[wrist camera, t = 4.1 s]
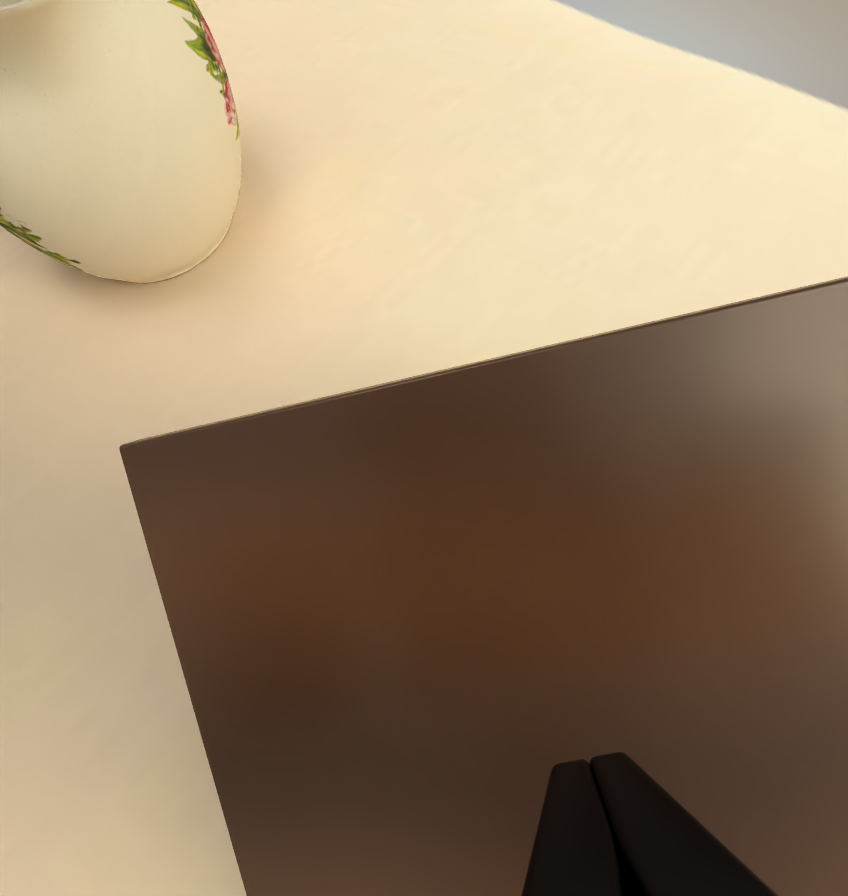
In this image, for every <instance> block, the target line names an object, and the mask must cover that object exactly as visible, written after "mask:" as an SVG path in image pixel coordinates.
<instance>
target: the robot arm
mask: <svg viewBox="0 0 848 896" xmlns="http://www.w3.org/2000/svg"><path fill="white" fill-rule="evenodd" d="M521 896H779V895H778V894H777V893H776V892H775V891H774V890H773V889H771V888H770V887H769V886H768V885H767V884H766V883H765V882H764V881H763V880H762V879H761V878H760V877H759V876H757V875H756V874H755V873H754V872H753V871H752V870H751V869H750V868H749V867H748V866H747V865H746V864H745V863H743V862H742V861H741V860H740V859H739V858H738V857H737V856H736V855H735V854H734V853H733V852H732V851H731V850H729V849H728V848H727V847H726V846H725V845H724V844H723V843H722V842H721V841H720V840H719V839H718V838H717V837H715V836H714V835H713V834H712V833H711V832H710V831H709V830H708V829H707V828H706V827H705V826H704V825H703V824H701V823H700V822H699V821H698V820H697V819H696V818H695V817H694V816H693V815H692V814H691V813H690V812H689V811H687V810H686V809H685V808H684V807H683V806H682V805H681V804H680V803H679V802H678V801H677V800H676V799H675V798H673V797H672V796H671V795H670V794H669V793H668V792H667V791H666V790H665V789H664V788H663V787H662V786H661V785H659V784H658V783H657V782H656V781H655V780H654V779H653V778H652V777H651V776H650V775H649V774H648V773H647V772H645V771H644V770H643V769H642V768H641V767H640V766H639V765H638V764H637V763H636V762H635V761H634V760H632V759H631V758H630V757H629V756H628V755H627V754H625V753H623V752H615V753H610V754H605V755H600V756H595V757H592V758H591V760H590V765H589V763H588V762H587V761H586V760H584V759H579V760H574V761H569V762H564V763H559V764H556V765H555V766H553V768H552V770H551V774H550V778H549V782H548V786H547V790H546V795H545V799H544V803H543V807H542V811H541V816H540V820H539V824H538V828H537V832H536V836H535V841H534V845H533V849H532V853H531V857H530V862H529V866H528V870H527V874H526V878H525V882H524V887H523V891H522V895H521Z"/></svg>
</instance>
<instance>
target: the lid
mask: <svg viewBox="0 0 848 896" xmlns="http://www.w3.org/2000/svg"><path fill="white" fill-rule="evenodd" d="M120 453H121V456H122V460H123V463H124V467H125V470H126V474H127V477H128V481H129V484H130V488H131V491H132V495H133V498H134V502H135V505H136V509H137V512H138V516H139V519H140V523H141V526H142V530H143V533H144V537H145V540H146V544H147V547H148V551H149V554H150V558H151V561H152V565H153V568H154V572H155V575H156V579H157V582H158V586H159V589H160V593H161V596H162V600H163V603H164V607H165V610H166V614H167V617H168V621H169V624H170V628H171V631H172V635H173V638H174V642H175V645H176V649H177V652H178V656H179V659H180V663H181V666H182V670H183V673H184V677H185V680H186V684H187V687H188V691H189V694H190V698H191V701H192V705H193V708H194V712H195V715H196V719H197V723H198V726H199V730H200V733H201V737H202V740H203V744H204V747H205V751H206V754H207V758H208V761H209V765H210V768H211V772H212V775H213V779H214V782H215V786H216V789H217V793H218V796H219V800H220V803H221V807H222V810H223V814H224V817H225V821H226V824H227V828H228V831H229V835H230V838H231V842H232V845H233V849H234V852H235V856H236V859H237V863H238V866H239V870H240V873H241V877H242V880H243V884H244V887H245V891H246V894H247V896H521V895H522V891H523V887H524V882H525V878H526V874H527V870H528V866H529V862H530V857H531V853H532V849H533V845H534V841H535V836H536V832H537V828H538V824H539V820H540V816H541V811H542V807H543V803H544V799H545V795H546V790H547V786H548V782H549V778H550V774H551V770H552V768H553V766H555V765H556V764H559V763H564V762H569V761H574V760H579V759H584V760H586V761H587V762H588V763H589V765H590V760H591V758H592V757H595V756H600V755H605V754H610V753H615V752H623V753H625V754H627V755H628V756H629V757H630V758H631V759H632V760H634V761H635V762H636V763H637V764H638V765H639V766H640V767H641V768H642V769H643V770H644V771H645V772H647V773H648V774H649V775H650V776H651V777H652V778H653V779H654V780H655V781H656V782H657V783H658V784H659V785H661V786H662V787H663V788H664V789H665V790H666V791H667V792H668V793H669V794H670V795H671V796H672V797H673V798H675V799H676V800H677V801H678V802H679V803H680V804H681V805H682V806H683V807H684V808H685V809H686V810H687V811H689V812H690V813H691V814H692V815H693V816H694V817H695V818H696V819H697V820H698V821H699V822H700V823H701V824H703V825H704V826H705V827H706V828H707V829H708V830H709V831H710V832H711V833H712V834H713V835H714V836H715V837H717V838H718V839H719V840H720V841H721V842H722V843H723V844H724V845H725V846H726V847H727V848H728V849H729V850H731V851H732V852H733V853H734V854H735V855H736V856H737V857H738V858H739V859H740V860H741V861H742V862H743V863H745V864H746V865H747V866H748V867H749V868H750V869H751V870H752V871H753V872H754V873H755V874H756V875H757V876H759V877H760V878H761V879H762V880H763V881H764V882H765V883H766V884H767V885H768V886H769V887H770V888H771V889H773V890H774V891H775V892H776V893H777V894H778V895H779V896H848V277H844V278H839V279H835V280H831V281H826V282H822V283H818V284H813V285H809V286H804V287H800V288H796V289H791V290H787V291H783V292H778V293H774V294H770V295H765V296H761V297H757V298H752V299H748V300H744V301H739V302H735V303H731V304H726V305H722V306H718V307H713V308H709V309H705V310H700V311H696V312H692V313H687V314H683V315H678V316H674V317H670V318H665V319H661V320H657V321H652V322H648V323H644V324H639V325H635V326H631V327H626V328H622V329H618V330H613V331H609V332H605V333H600V334H596V335H592V336H587V337H583V338H579V339H574V340H570V341H565V342H561V343H557V344H552V345H548V346H544V347H539V348H535V349H531V350H526V351H522V352H518V353H513V354H509V355H505V356H500V357H496V358H492V359H487V360H483V361H479V362H474V363H470V364H466V365H461V366H457V367H453V368H448V369H444V370H439V371H435V372H431V373H426V374H422V375H418V376H413V377H409V378H405V379H400V380H396V381H392V382H387V383H383V384H379V385H374V386H370V387H366V388H361V389H357V390H353V391H348V392H344V393H340V394H335V395H331V396H327V397H322V398H318V399H313V400H309V401H305V402H300V403H296V404H292V405H287V406H283V407H279V408H274V409H270V410H266V411H261V412H257V413H253V414H248V415H244V416H240V417H235V418H231V419H227V420H222V421H218V422H214V423H209V424H205V425H201V426H196V427H192V428H187V429H183V430H179V431H174V432H170V433H166V434H161V435H157V436H153V437H148V438H144V439H140V440H137V441H133V442H130V443H127V444H123V445H121V446H120Z"/></svg>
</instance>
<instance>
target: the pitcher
mask: <svg viewBox="0 0 848 896" xmlns="http://www.w3.org/2000/svg"><path fill="white" fill-rule="evenodd" d="M241 172H242V165H241V145H240V135H239V125H238V119H237V113H236V107H235V102H234V99H233V95H232V91H231V87H230V84H229V80H228V77H227V73H226V70H225V67H224V65H223V62H222V59H221V56H220V53H219V50H218V48H217V45H216V43H215V41H214V39H213V36H212V34H211V32H210V29H209V27H208V25H207V23H206V21H205V19H204V18H203V16H202V14H201V12H200V10H199V8H198V6H197V5H196V3H195V1H194V0H0V225H1V226H2V227H3V228H5V229H6V230H7V231H9V232H10V233H12V234H13V235H15V236H16V237H18V238H19V239H21V240H22V241H24V242H25V243H27V244H28V245H30V246H32V247H34V248H36V249H37V250H39V251H41V252H43V253H45V254H46V255H48V256H50V257H52V258H54V259H55V260H57V261H59V262H61V263H64V264H66V265H68V266H70V267H72V268H75V269H77V270H80V271H83V272H86V273H89V274H92V275H95V276H98V277H103V278H108V279H115V280H123V281H127V282H133V283H150V282H157V281H162V280H165V279H169V278H172V277H175V276H177V275H180V274H182V273H184V272H186V271H188V270H190V269H191V268H193V267H195V266H196V265H198V264H199V263H200V262H202V261H203V260H205V259H206V258H207V257H208V256H209V255H210V254H211V253H212V252H213V251H214V250H215V249H216V248H217V247H218V246H219V244H220V243H221V242H222V240H223V239H224V237H225V235H226V234H227V232H228V229H229V227H230V225H231V221H232V217H233V213H234V210H235V207H236V204H237V201H238V197H239V192H240V183H241Z"/></svg>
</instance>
